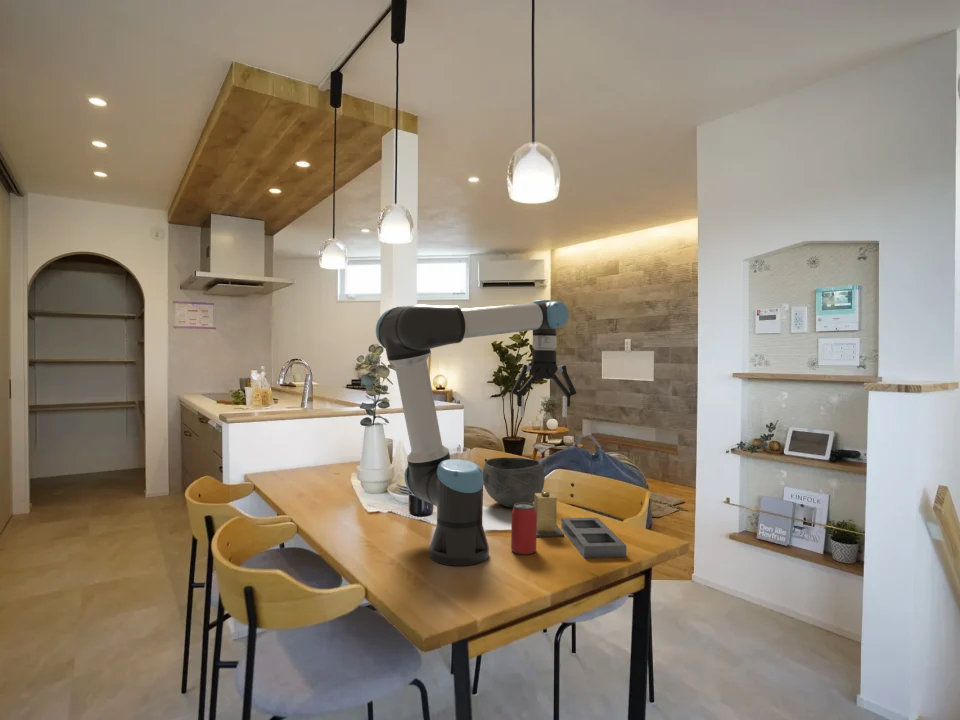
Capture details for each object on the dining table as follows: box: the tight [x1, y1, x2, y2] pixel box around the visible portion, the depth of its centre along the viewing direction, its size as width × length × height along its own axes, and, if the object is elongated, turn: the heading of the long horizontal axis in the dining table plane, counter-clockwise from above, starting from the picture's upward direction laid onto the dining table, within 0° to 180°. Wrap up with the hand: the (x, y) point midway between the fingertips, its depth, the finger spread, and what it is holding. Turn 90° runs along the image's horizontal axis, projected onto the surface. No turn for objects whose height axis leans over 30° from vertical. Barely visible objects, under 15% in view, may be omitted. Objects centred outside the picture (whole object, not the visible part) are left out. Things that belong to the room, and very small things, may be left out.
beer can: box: [510, 503, 537, 556], centre depth 145 cm, size 7×7×12 cm
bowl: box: [482, 456, 546, 509], centre depth 188 cm, size 21×21×15 cm
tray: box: [560, 517, 627, 559], centre depth 153 cm, size 11×24×3 cm, turn 6°
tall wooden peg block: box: [533, 491, 558, 533], centre depth 161 cm, size 5×5×11 cm
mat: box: [536, 524, 565, 538], centre depth 161 cm, size 9×9×1 cm
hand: (543, 417), depth 175 cm, fingers open, 13 cm apart
